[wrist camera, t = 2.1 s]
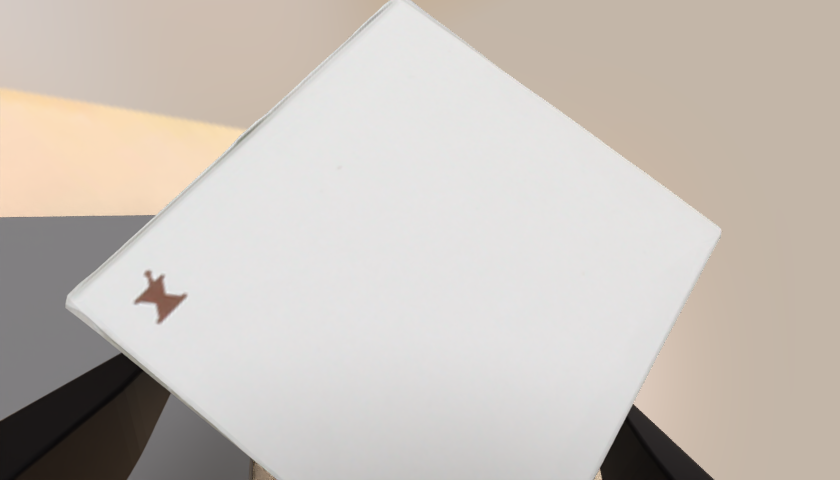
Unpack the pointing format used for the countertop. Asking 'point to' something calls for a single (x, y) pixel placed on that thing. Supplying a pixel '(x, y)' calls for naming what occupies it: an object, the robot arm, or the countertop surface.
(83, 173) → the countertop surface
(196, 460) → the rubber mat
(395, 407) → the supplement box
